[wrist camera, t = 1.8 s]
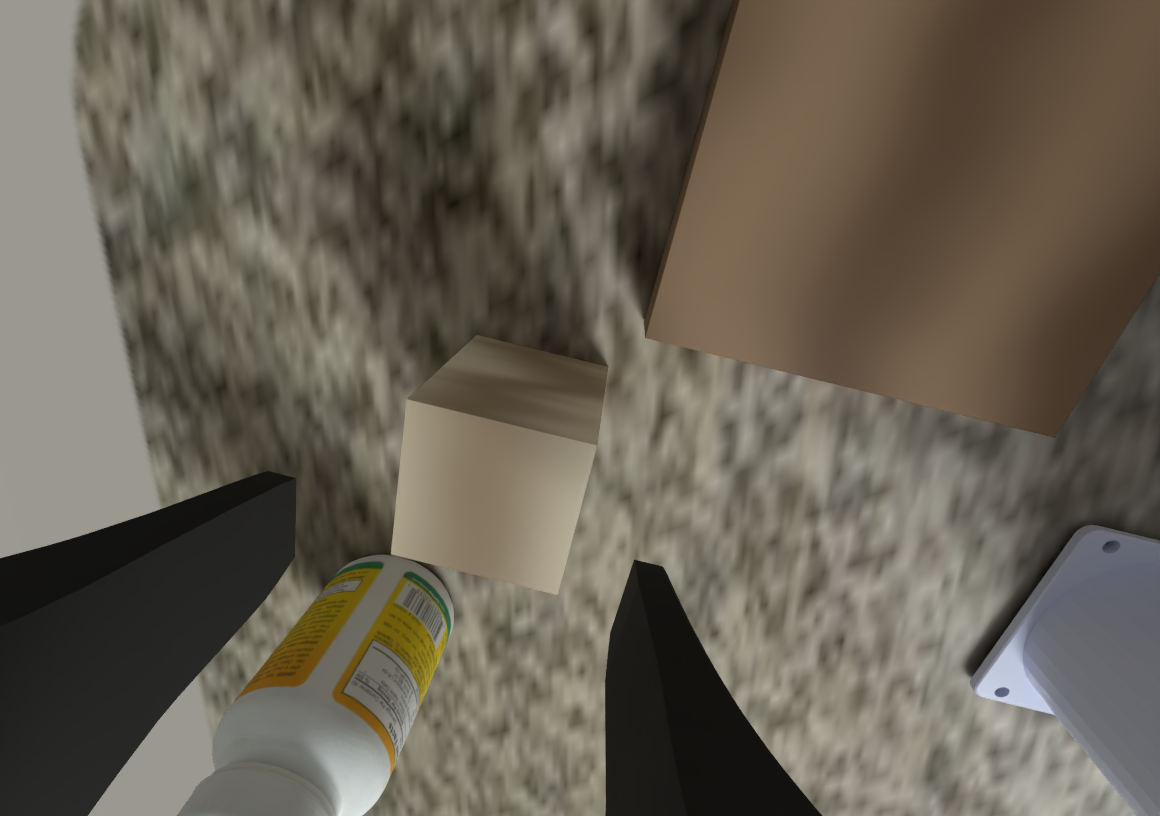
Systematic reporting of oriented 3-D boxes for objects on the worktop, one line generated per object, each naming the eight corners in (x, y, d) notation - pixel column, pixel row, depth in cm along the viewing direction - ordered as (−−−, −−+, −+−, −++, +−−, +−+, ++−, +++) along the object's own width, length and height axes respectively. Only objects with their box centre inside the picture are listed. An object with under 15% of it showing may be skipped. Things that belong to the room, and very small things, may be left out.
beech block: (608, 366, 18) (596, 445, 12) (578, 480, 20) (557, 594, 14) (477, 334, 18) (406, 398, 12) (459, 451, 20) (390, 554, 14)
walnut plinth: (1280, -50, 12) (1393, -93, 11) (1009, 411, 17) (1055, 437, 15) (780, -172, 12) (806, -236, 11) (643, 322, 17) (645, 337, 15)
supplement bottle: (469, 572, 22) (354, 838, 13) (443, 664, 24) (328, 949, 15) (340, 532, 21) (133, 774, 13) (325, 628, 23) (138, 894, 15)
